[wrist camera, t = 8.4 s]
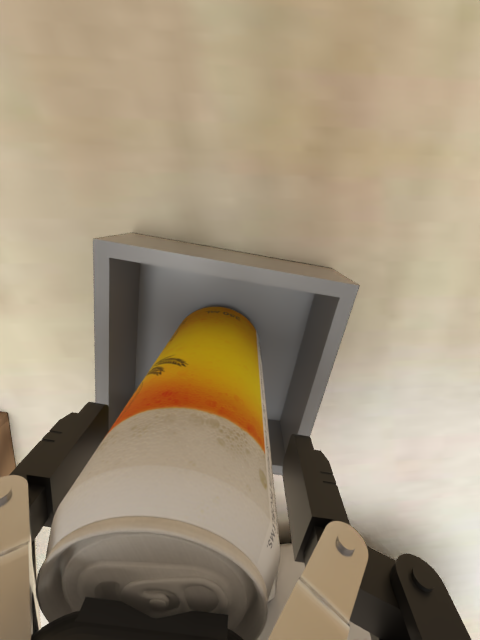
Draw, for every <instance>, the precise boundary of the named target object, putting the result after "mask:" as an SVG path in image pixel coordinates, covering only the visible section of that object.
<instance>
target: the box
mask: <svg viewBox="0 0 480 640" xmlns="http://www.w3.org/2000/svg"><path fill="white" fill-rule="evenodd" d="M93 266H94V331H95V397H96V403H100V404H106V405H108V407H109V430H110V429H111V427H112V426H113V424H114V423H115V421H116V420H117V418H118V417H119V415H120V414H121V412H122V411H123V409H124V408H125V406H126V405H127V403H128V402H129V400H130V399H131V397H132V396H133V394H134V393H135V391H136V390H137V388H138V387H139V385H140V384H141V382H142V381H143V379H144V378H145V376H146V375H147V373H148V372H149V370H150V369H151V367H152V366H153V364H154V363H155V361H156V360H157V358H158V357H159V355H160V354H161V352H162V351H163V349H164V348H165V346H166V345H167V343H168V342H169V340H170V339H171V338H172V336H173V335H174V333H175V332H176V330H177V329H178V327H179V326H180V324H181V323H182V321H183V320H184V319H185V318H186V317H187V316H189V315H190V314H191V313H193V312H195V311H197V310H199V309H202V308H206V307H225V308H229V309H232V310H235V311H237V312H239V313H240V314H242V315H243V316H244V317H246V318H247V319H248V320H249V321H250V322H251V324H252V325H253V326H254V328H255V330H256V332H257V334H258V337H259V341H260V349H261V360H262V370H263V380H264V390H265V400H266V410H267V421H268V431H269V441H270V451H271V461H272V471H273V474H277V475H283V472H282V470H283V460H284V457H285V453H286V450H287V447H288V443H289V440H290V437H291V435H292V434H298V435H304V436H309V437H310V434H311V431H312V428H313V425H314V422H315V419H316V416H317V413H318V410H319V407H320V404H321V401H322V398H323V395H324V392H325V389H326V386H327V383H328V380H329V377H330V373H331V370H332V367H333V364H334V361H335V358H336V355H337V352H338V349H339V346H340V343H341V340H342V337H343V334H344V331H345V328H346V325H347V322H348V319H349V316H350V313H351V310H352V307H353V304H354V301H355V298H356V295H357V292H358V289H359V286H360V285H358V284H356V283H355V282H353V281H352V280H350V279H348V278H347V277H345V276H343V275H342V274H340V273H339V272H337V271H335V270H334V269H332V268H328V267H322V266H316V265H311V264H305V263H299V262H294V261H288V260H283V259H277V258H271V257H266V256H260V255H254V254H249V253H243V252H238V251H232V250H226V249H221V248H215V247H209V246H204V245H198V244H193V243H187V242H181V241H176V240H170V239H164V238H159V237H153V236H147V235H142V234H136V233H127V234H120V235H114V236H107V237H100V238H94V239H93Z"/></svg>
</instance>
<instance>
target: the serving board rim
mask: <svg viewBox="0 0 480 640" xmlns="http://www.w3.org/2000/svg"><path fill="white" fill-rule="evenodd" d="M15 468H16V466H15V460H14V453H13V446H12V440H11V433H10V427H9V420H8V414H7V413H5V412H0V477H4V476H8V475H9V474H10V473H11V472H12V471H13V470H14V469H15Z"/></svg>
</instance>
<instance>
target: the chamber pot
mask: <svg viewBox="0 0 480 640" xmlns="http://www.w3.org/2000/svg"><path fill="white" fill-rule="evenodd" d="M304 569H305V564H304V563H302V562H295V561H294V553H293V546H292V543H286V544H280V562H279V567H278V571H277V574H276V577H275V580H274V583H273V586H272V589H271V593H270V596H269V599H268V614H267V620H266V624H265V627H264V629H263V631H262V633H261V634H260V636H259V637H258V639H257V640H268V638H269V636H270V634H271V632H272V630H273V628H274V626H275V624H276V622H277V620H278V618H279V616H280V614H281V612H282V610H283V608H284V606H285V604H286V602H287V601H288V599H289V597H290V595H291V593H292V591H293V589H294V587H295V585H296V583H297V581H298V579H299V578H300V577H301V575H302V573H303V571H304ZM349 625H350V629H349V633H348V637H347V640H371V636H370V633H369V632H368V631H366V630H364V629H362V628H361V627H359V626H357V625H355V624H354V623H352V622H350V621H349Z"/></svg>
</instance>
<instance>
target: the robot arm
mask: <svg viewBox="0 0 480 640" xmlns="http://www.w3.org/2000/svg"><path fill="white" fill-rule="evenodd" d="M108 432H109V407H108V405H106V404H100V403H93V402H88V403H87V404H86V405H85V406H84V407H83V409H82V410H81V411H80V412H79V413H70V414H69V415H67V416H65V417H64V418H62V419H60V420H59V421H58V422H57V423H56V424H55V425H54V426H53V428H52V429H51V430H50V432H48V433H47V434H46V435H45V436H44V437H43V438H42V441H40V442H39V443H38V444H37V445H36V446H35V447H34V448H33V449H32V450H31V452H30V453H29V454H28V455H27V456H26V457H25V458H24V459H23V460H22V461H21V463H20V464H19V465H18V466H17V467H16V468H15V469H14V470H13V471H12V472H11V473H10V474H9V475H8V476H4V477H0V640H244V639H243V638H242V637H240V636H239V635H238V634H236V633H235V632H234V631H232V630H230V629H228V615H225V614H217V613H209V612H202V611H189V612H185V613H180V614H176V615H171V616H167V617H162V618H152V617H150V616H148V615H146V614H144V613H142V612H140V611H138V610H137V609H135V608H133V607H131V606H129V605H127V604H125V603H123V602H122V601H115V600H107V599H99V598H91V597H85V600H84V602H83V604H82V607H81V609H80V610H79V611H75V612H72V613H69V614H66V615H64V616H62V617H60V618H58V619H56V620H54V621H52V622H50V623H49V624H47V625H45V626H44V627H42V628H41V622H40V610H39V604H38V601H37V597H36V580H37V558H36V540H35V538H36V536H37V535H38V533H39V532H40V530H41V529H42V527H43V526H46V527H51V525H52V521H53V518H54V515H55V512H56V510H57V508H58V507H59V505H60V503H61V502H62V500H63V499H64V497H65V496H66V494H67V493H68V491H69V490H70V488H71V487H72V485H73V484H74V482H75V481H76V479H77V478H78V476H79V475H80V473H81V472H82V470H83V469H84V467H85V466H86V464H87V463H88V461H89V460H90V458H91V457H92V455H93V454H94V453H95V451H96V450H97V448H98V447H99V445H100V444H101V442H102V441H103V439H104V438H105V436H106V435H107V433H108ZM282 472H283V481H284V488H285V496H286V503H287V510H288V517H289V524H290V532H291V539H292V546H293V553H294V561H295V562H302V563H304V564H305V569H304V571H303V573H302V575H301V577H300V578H299V579H298V581H297V583H296V585H295V587H294V589H293V591H292V593H291V595H290V597H289V599H288V601H287V602H286V604H285V606H284V608H283V610H282V612H281V614H280V616H279V618H278V620H277V622H276V624H275V626H274V628H273V630H272V632H271V634H270V636H269V638H268V640H347V637H348V633H349V629H350V625H349V621H350V622H352V623H354V624H355V625H357V626H359V627H361V628H362V629H364V630H366V631H368V632H369V633H370V636H371V640H471V638H470V636H469V634H468V632H467V630H466V628H465V626H464V624H463V622H462V620H461V618H460V616H459V614H458V612H457V610H456V608H455V605H454V603H453V601H452V599H451V597H450V595H449V593H448V591H447V589H446V587H445V585H444V583H443V582H442V580H441V578H440V577H439V575H438V574H437V573H436V572H435V570H434V569H433V568H432V567H431V566H430V565H428V564H427V563H426V562H425V561H423V560H422V559H420V558H419V557H417V556H414V555H411V554H402V555H400V556H399V557H398V559H397V561H395V560H393V559H391V558H389V557H387V556H385V555H383V554H381V553H379V552H377V551H375V550H373V549H371V548H370V547H368V546H367V545H366V544H365V541H364V540H363V538H362V537H361V535H360V534H359V533H358V532H357V531H356V530H355V529H354V528H353V527H351V526H350V523H349V520H348V517H347V514H346V511H345V508H344V505H343V502H342V499H341V496H340V493H339V490H338V487H337V485H336V481H335V478H334V476H333V472H332V469H331V466H330V463H329V461H328V460H327V458H326V457H325V456H324V454H323V453H322V452H321V451H318V450H314V448H313V445H312V442H311V438H310V437H309V436H304V435H298V434H292V435H291V437H290V440H289V443H288V447H287V450H286V453H285V457H284V460H283V470H282Z"/></svg>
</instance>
